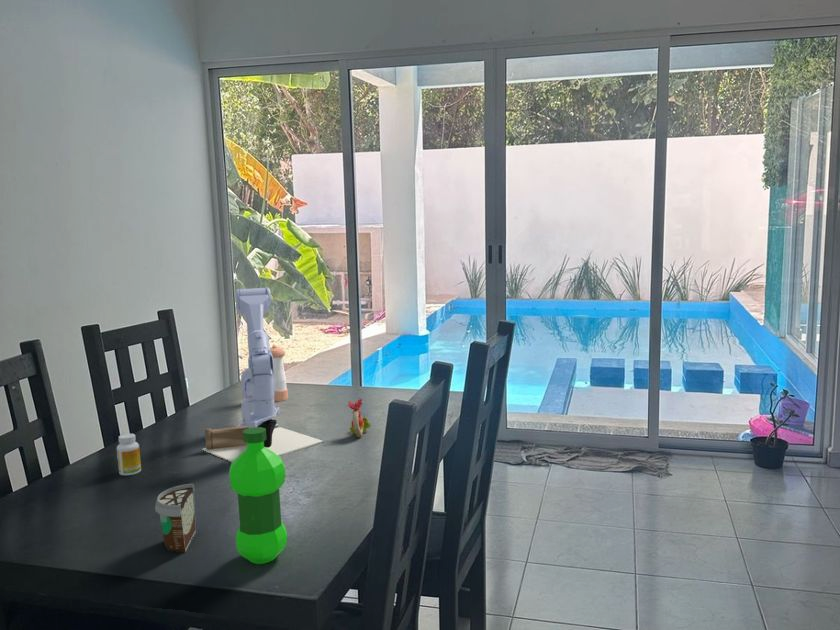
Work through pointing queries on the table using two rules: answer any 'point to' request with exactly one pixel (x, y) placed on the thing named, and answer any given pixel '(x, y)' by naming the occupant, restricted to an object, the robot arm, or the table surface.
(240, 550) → the plastic bottle
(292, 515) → the table surface
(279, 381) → the pepper shaker
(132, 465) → the supplement bottle
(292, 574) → the table surface
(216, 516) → the table surface
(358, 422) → the bird rattle
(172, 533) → the food container
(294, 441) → the board
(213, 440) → the bar
